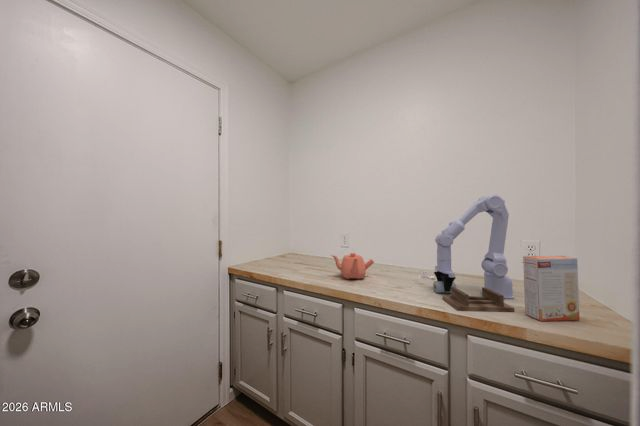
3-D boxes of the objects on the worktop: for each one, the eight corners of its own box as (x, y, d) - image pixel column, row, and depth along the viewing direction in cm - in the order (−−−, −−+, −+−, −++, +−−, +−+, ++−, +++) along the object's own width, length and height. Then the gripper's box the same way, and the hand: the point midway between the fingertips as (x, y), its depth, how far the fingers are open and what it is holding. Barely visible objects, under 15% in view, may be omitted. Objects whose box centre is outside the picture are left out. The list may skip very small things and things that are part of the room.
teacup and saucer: (437, 279, 128) (437, 272, 128) (426, 281, 125) (426, 273, 126) (425, 276, 137) (425, 269, 137) (414, 277, 134) (414, 270, 134)
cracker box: (561, 313, 82) (559, 255, 83) (580, 321, 76) (579, 258, 77) (523, 314, 82) (522, 255, 82) (540, 321, 76) (538, 258, 76)
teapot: (356, 283, 120) (356, 257, 120) (330, 277, 133) (330, 253, 133) (375, 277, 132) (375, 253, 133) (350, 272, 145) (350, 250, 146)
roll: (451, 290, 108) (451, 280, 108) (456, 294, 103) (456, 283, 103) (432, 290, 108) (432, 279, 108) (437, 294, 103) (437, 282, 103)
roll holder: (491, 300, 96) (491, 286, 96) (514, 312, 84) (514, 296, 84) (442, 299, 97) (442, 286, 97) (457, 310, 85) (457, 295, 85)
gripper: (428, 256, 113) (428, 284, 113) (442, 262, 99) (442, 294, 99) (443, 257, 113) (443, 284, 113) (459, 262, 98) (459, 294, 98)
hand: (444, 289), depth 106 cm, fingers closed on roll, 5 cm apart
